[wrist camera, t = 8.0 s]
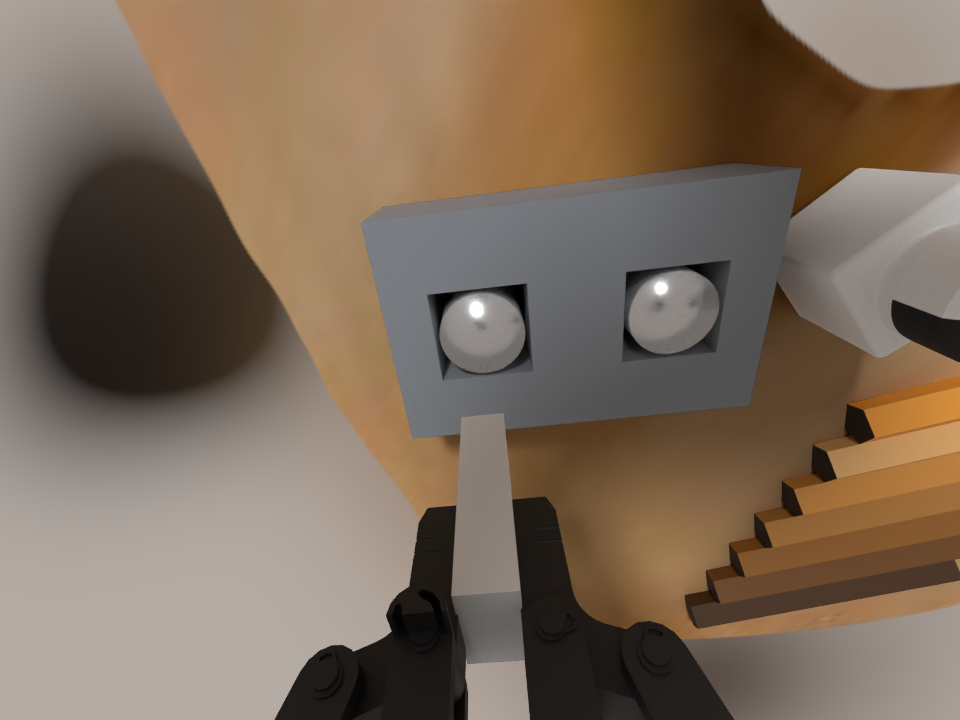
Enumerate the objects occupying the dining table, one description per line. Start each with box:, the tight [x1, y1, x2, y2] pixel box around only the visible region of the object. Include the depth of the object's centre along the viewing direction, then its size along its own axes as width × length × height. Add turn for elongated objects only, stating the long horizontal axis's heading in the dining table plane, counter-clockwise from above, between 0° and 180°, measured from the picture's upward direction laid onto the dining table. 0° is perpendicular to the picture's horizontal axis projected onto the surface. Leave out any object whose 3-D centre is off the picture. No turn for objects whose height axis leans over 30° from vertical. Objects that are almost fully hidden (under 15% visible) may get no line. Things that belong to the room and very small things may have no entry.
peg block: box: [361, 163, 802, 439], centre depth 27 cm, size 14×22×6 cm, turn 97°
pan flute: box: [685, 376, 960, 629], centre depth 39 cm, size 25×3×25 cm
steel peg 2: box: [624, 265, 719, 354], centre depth 26 cm, size 5×5×5 cm
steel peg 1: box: [440, 285, 525, 373], centre depth 26 cm, size 5×5×5 cm
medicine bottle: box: [777, 168, 960, 362], centre depth 23 cm, size 7×7×12 cm
